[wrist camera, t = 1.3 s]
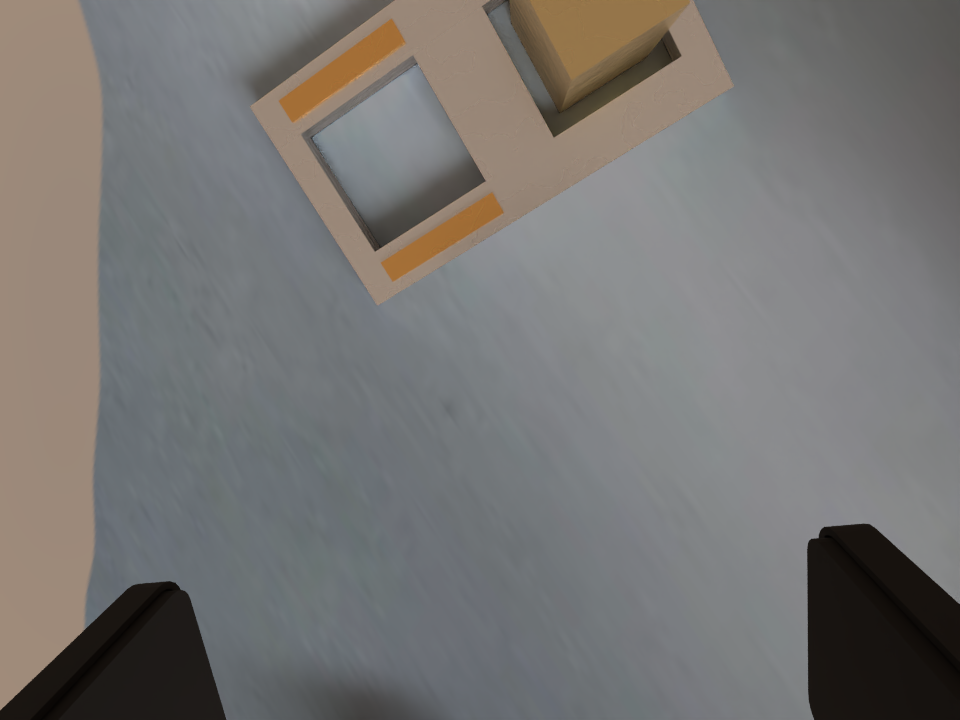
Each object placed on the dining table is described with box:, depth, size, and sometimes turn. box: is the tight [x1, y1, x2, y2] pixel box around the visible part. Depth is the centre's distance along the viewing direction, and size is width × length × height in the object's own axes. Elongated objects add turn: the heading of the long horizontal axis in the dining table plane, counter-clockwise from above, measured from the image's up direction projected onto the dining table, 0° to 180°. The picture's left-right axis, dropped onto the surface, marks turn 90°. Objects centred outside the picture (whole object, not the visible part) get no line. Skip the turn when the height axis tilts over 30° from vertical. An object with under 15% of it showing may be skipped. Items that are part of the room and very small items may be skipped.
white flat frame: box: [250, 0, 734, 306], centre depth 30 cm, size 21×12×2 cm, turn 121°
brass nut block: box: [509, 0, 690, 113], centre depth 26 cm, size 5×5×8 cm
